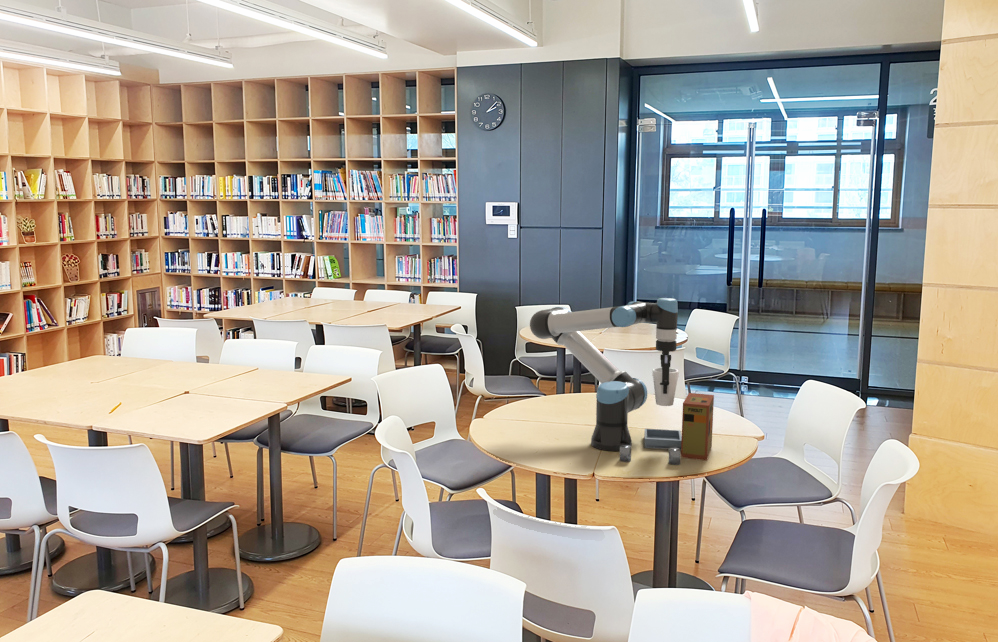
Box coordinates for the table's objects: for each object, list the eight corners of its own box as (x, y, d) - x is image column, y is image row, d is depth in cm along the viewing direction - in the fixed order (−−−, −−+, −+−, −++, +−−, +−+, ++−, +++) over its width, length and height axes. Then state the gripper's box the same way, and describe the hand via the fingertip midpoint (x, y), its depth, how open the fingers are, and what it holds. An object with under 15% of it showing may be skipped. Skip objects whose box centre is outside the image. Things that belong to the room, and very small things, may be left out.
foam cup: (679, 407, 278) (680, 372, 276) (654, 407, 278) (655, 372, 276) (674, 401, 287) (675, 367, 285) (650, 400, 288) (651, 367, 286)
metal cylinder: (619, 461, 264) (619, 447, 264) (619, 458, 268) (619, 444, 267) (630, 462, 264) (631, 448, 263) (630, 458, 267) (631, 445, 267)
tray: (644, 447, 280) (644, 438, 279) (644, 437, 293) (644, 428, 293) (682, 449, 277) (682, 440, 277) (680, 439, 291) (680, 430, 290)
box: (687, 444, 284) (689, 392, 282) (711, 447, 281) (713, 395, 278) (680, 457, 269) (682, 403, 266) (706, 460, 266) (709, 405, 263)
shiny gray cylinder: (668, 464, 261) (669, 450, 261) (668, 461, 265) (668, 447, 264) (680, 465, 261) (681, 451, 260) (679, 461, 264) (680, 448, 264)
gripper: (677, 345, 268) (675, 406, 271) (675, 335, 289) (673, 392, 292) (656, 344, 269) (654, 405, 273) (656, 334, 291) (654, 391, 294)
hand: (664, 398), depth 282 cm, fingers closed on foam cup, 9 cm apart
